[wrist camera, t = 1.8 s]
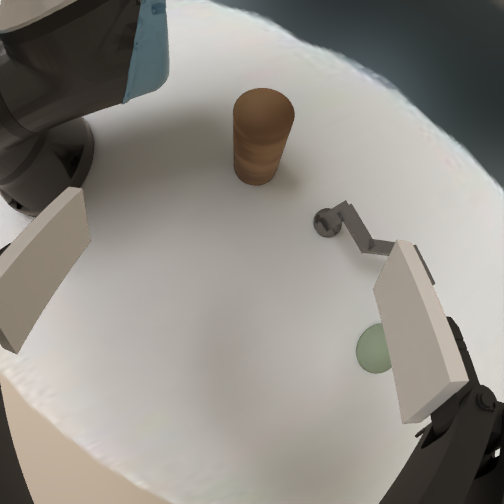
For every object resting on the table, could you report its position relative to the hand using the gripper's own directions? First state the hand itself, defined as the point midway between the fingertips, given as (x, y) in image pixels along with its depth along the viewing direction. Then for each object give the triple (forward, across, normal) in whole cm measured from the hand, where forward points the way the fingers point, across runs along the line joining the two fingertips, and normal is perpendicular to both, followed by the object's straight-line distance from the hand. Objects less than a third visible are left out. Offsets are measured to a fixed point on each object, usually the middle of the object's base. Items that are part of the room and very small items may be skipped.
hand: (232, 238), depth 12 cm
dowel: (+24, 0, -7) cm, 25 cm away
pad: (+11, +18, -20) cm, 29 cm away
